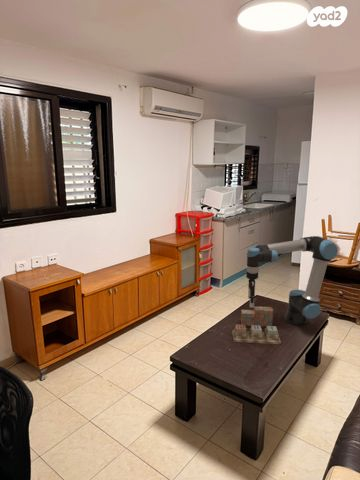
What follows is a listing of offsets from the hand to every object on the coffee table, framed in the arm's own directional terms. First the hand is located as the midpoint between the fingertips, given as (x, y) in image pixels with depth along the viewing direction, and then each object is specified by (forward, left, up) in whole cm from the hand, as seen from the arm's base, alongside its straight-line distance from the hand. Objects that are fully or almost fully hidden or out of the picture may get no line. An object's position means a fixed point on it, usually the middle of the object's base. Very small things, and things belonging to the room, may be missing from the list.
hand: (250, 302), depth 213 cm
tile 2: (-4, +4, -19) cm, 20 cm away
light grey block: (-14, +4, -19) cm, 24 cm away
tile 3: (+6, +4, -19) cm, 20 cm away
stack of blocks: (-7, -16, -24) cm, 30 cm away
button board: (-4, +4, -24) cm, 24 cm away
